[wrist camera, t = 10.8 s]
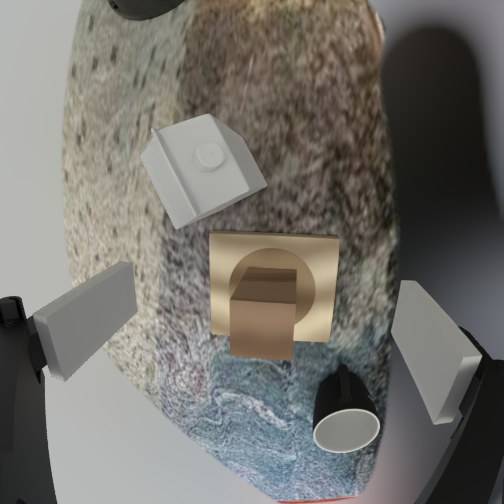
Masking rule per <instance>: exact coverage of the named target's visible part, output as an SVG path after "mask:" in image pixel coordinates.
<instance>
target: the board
mask: <svg viewBox="0 0 504 504" xmlns="http://www.w3.org/2000/svg"><path fill="white" fill-rule="evenodd" d="M339 244H340V239H339V237H338V236H326V235H306V234H285V233H262V232H237V231H212V232H210V233H209V249H210V295H211V324H212V334H218V335H227V336H230V306H229V300H230V298H231V296H232V295H233V293H234V291H235V289H236V287H237V286H238V284H239V282H240V280H241V279H242V277H243V275H244V273H245V272H246V270H247V268H248V267H258V268H277V269H296V270H297V285H296V310H295V324H294V336H293V341H311V342H329V339H330V331H331V323H332V315H333V307H334V298H335V289H336V279H337V268H338V257H339Z"/></svg>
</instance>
